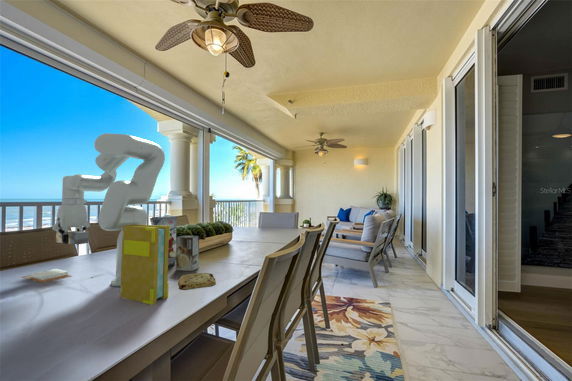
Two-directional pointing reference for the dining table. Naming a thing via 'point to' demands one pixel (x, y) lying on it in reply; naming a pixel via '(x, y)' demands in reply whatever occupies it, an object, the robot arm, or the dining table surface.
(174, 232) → the juice carton
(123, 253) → the book
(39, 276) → the tile
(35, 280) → the board
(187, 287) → the pastry
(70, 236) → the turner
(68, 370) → the dining table surface
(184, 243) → the coffee box
